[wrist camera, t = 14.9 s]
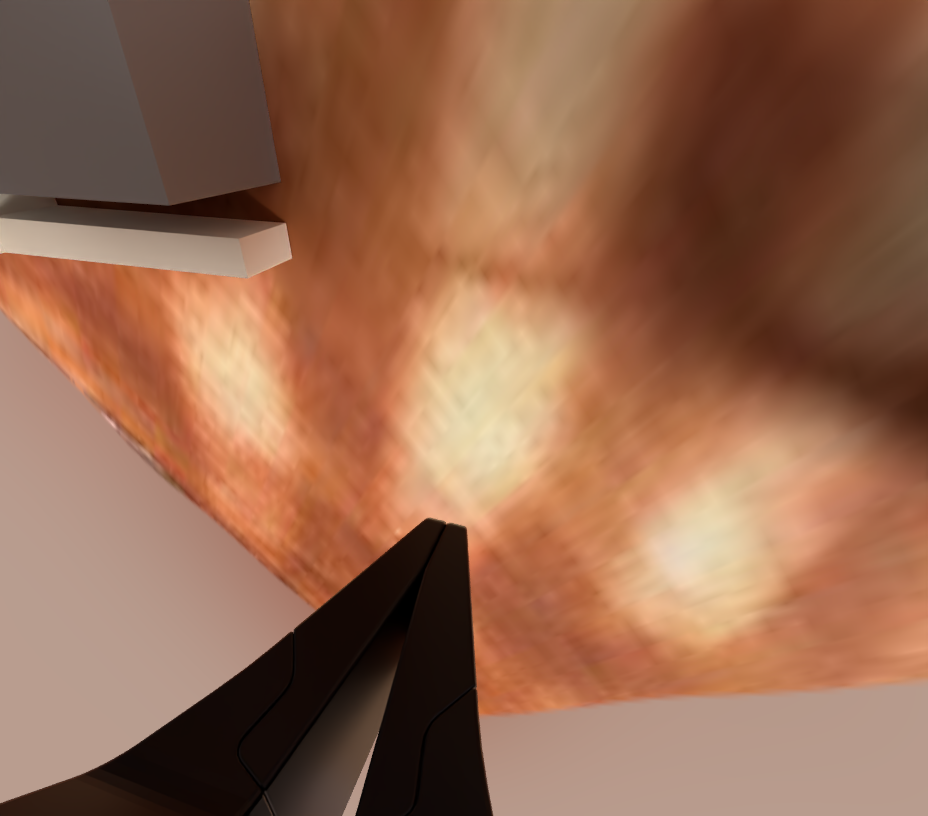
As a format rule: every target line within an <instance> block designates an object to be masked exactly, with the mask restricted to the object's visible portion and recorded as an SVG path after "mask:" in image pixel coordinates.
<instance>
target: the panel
mask: <svg viewBox="0 0 928 816" xmlns="http://www.w3.org/2000/svg"><path fill="white" fill-rule="evenodd" d="M279 182H281V180H280V174H279V168H278V163H277V157H276V151H275V146H274V140H273V134H272V129H271V123H270V117H269V112H268V106H267V100H266V95H265V89H264V84H263V78H262V72H261V67H260V61H259V55H258V50H257V44H256V38H255V33H254V27H253V21H252V16H251V10H250V5H249V0H0V194H10V195H24V196H39V197H53V198H68V199H82V200H97V201H111V202H125V203H140V204H154V205H169V206H170V205H175V204H179V203H184V202H189V201H194V200H198V199H203V198H208V197H213V196H217V195H222V194H227V193H231V192H236V191H241V190H246V189H250V188H255V187H260V186H265V185H269V184H274V183H279Z"/></svg>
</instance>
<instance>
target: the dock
mask: <svg viewBox="0 0 928 816" xmlns="http://www.w3.org/2000/svg"><path fill="white" fill-rule="evenodd" d="M5 252H7V253H16V254H25V255H35V256H44V257H53V258H62V259H72V260H81V261H90V262H100V263H109V264H118V265H128V266H137V267H146V268H155V269H165V270H174V271H183V272H193V273H202V274H211V275H221V276H230V277H239V278H250V277H252V276H254V275H257V274H259V273H261V272H263V271H265V270H268V269H270V268H272V267H274V266H276V265H279V264H281V263H283V262H285V261H287V260H290V259H292V254H291V249H290V243H289V237H288V232H287V226H286V223H280V222H267V221H254V220H241V219H228V218H215V217H202V216H190V215H177V214H164V213H151V212H138V211H125V210H112V209H99V208H87V207H74V206H61V205H58V204H57V202H56V200H55V198H53V197H39V196H24V195H10V194H0V254H1V253H5Z"/></svg>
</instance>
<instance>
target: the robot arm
mask: <svg viewBox="0 0 928 816" xmlns="http://www.w3.org/2000/svg"><path fill="white" fill-rule="evenodd" d="M476 687H477V683H476V667H475V651H474V635H473V619H472V603H471V587H470V571H469V555H468V539H467V528H466V527H465V526H462V525H458V524H454V523H448V524H446V522H444V521H441V520H437V519H433V518H427V519H425V520H424V521H422V522H421V523H420V524H419V525H418V526H416V527H415V528H414V529H413V530H412V531H411V532H409V533H408V534H407V535H406V536H405V537H403V538H402V539H401V540H400V541H399V542H397V543H396V544H395V545H394V546H393V547H391V548H390V549H389V550H388V551H387V552H385V553H384V554H383V555H382V556H381V557H379V558H378V559H377V560H376V561H375V562H373V563H372V564H371V565H370V566H369V567H368V568H366V569H365V570H364V571H363V572H362V573H360V574H359V575H358V576H357V577H356V578H354V579H353V580H352V581H351V582H350V583H348V584H347V585H346V586H345V587H344V588H342V589H341V590H340V591H339V592H338V593H336V594H335V595H334V596H333V597H332V598H330V599H329V600H328V601H327V602H326V603H325V604H323V605H322V606H321V607H320V608H319V609H317V610H316V611H315V612H314V613H313V614H311V615H310V616H309V617H308V618H307V619H305V620H304V621H303V622H302V623H301V624H299V625H298V626H297V627H296V628H295V629H294V633H293V632H290V633H288V634H287V635H286V636H285V637H284V638H282V639H281V640H280V641H279V642H278V643H277V644H275V645H274V646H273V647H272V648H270V649H269V650H268V651H267V652H265V653H264V654H263V655H262V656H260V657H259V658H258V659H257V660H255V661H254V662H253V663H252V664H250V665H249V666H248V667H247V668H245V669H244V670H243V671H241V672H240V673H238V674H237V675H235V676H234V677H233V678H232V679H230V680H229V681H227V682H226V683H224V684H223V685H222V686H220V687H219V688H218V689H216V690H215V691H213V692H212V693H210V694H209V695H207V696H206V697H205V698H203V699H202V700H200V701H199V702H197V703H196V704H194V705H193V706H192V707H190V708H189V709H187V710H186V711H185V712H183V713H182V714H180V715H179V716H177V717H176V718H174V719H173V720H172V721H170V722H169V723H167V724H166V725H164V726H163V727H161V728H160V729H159V730H157V731H156V732H154V733H153V734H151V735H150V736H148V737H147V738H146V739H144V740H143V741H141V742H140V743H138V744H137V745H136V746H134V747H132V748H131V749H129V750H128V751H126V752H124V753H123V754H121V755H119V756H118V757H116V758H114V759H112V760H110V761H109V762H107V763H105V764H103V765H101V766H99V767H97V768H95V769H92V770H90V771H88V772H86V773H84V774H81V775H79V776H76V777H74V778H71V779H68V780H65V781H62V782H59V783H56V784H54V785H51V786H48V787H45V788H42V789H39V790H37V791H34V792H31V793H28V794H25V795H22V796H20V797H17V798H14V799H11V800H8V801H6V802H3V803H0V816H342V815H343V812H344V810H345V808H346V805H347V803H348V801H349V798H350V796H351V794H352V792H353V789H354V787H355V785H356V782H357V780H358V778H359V775H360V773H361V771H362V768H363V766H364V764H365V762H366V759H367V757H368V755H369V752H370V750H371V748H372V745H373V743H374V741H375V738H376V736H377V734H378V737H377V740H376V744H375V747H374V751H373V755H372V758H371V762H370V765H369V769H368V773H367V776H366V780H365V783H364V787H363V790H362V794H361V798H360V802H359V805H358V808H357V812H356V815H355V816H493V812H492V806H491V801H490V795H489V790H488V784H487V778H486V771H485V765H484V758H483V752H482V744H481V733H480V723H479V712H478V695H477V690H476ZM378 732H379V733H378Z"/></svg>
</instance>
